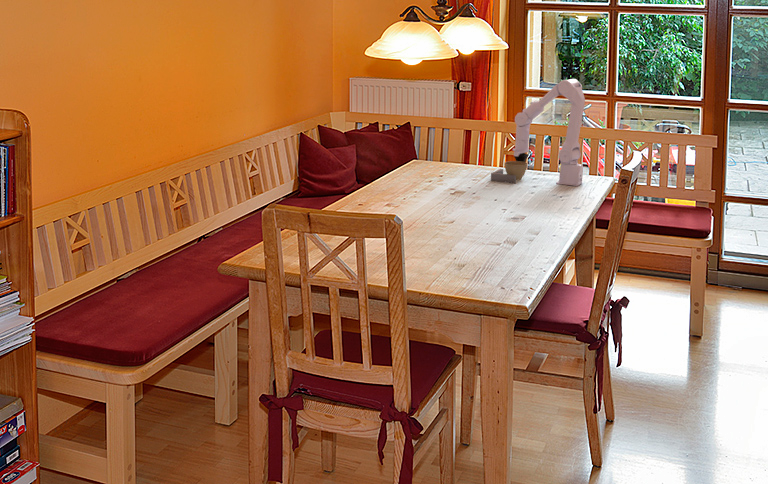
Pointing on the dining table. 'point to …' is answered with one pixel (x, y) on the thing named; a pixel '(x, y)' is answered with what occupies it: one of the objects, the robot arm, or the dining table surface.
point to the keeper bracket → (502, 177)
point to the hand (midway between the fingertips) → (520, 170)
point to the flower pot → (516, 168)
